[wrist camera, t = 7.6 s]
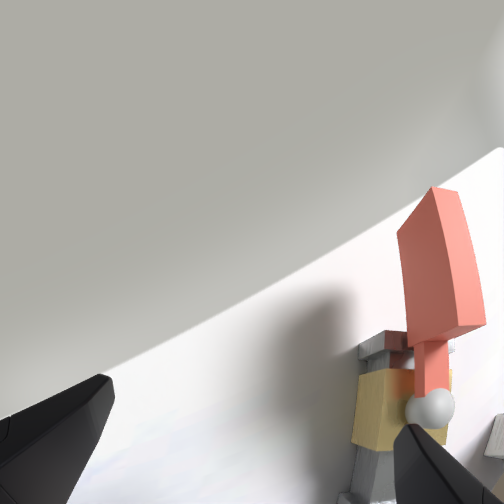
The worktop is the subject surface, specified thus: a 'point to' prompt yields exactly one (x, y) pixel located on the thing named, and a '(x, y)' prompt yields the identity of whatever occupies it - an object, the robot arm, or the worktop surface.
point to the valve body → (383, 415)
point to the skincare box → (496, 439)
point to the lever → (437, 299)
